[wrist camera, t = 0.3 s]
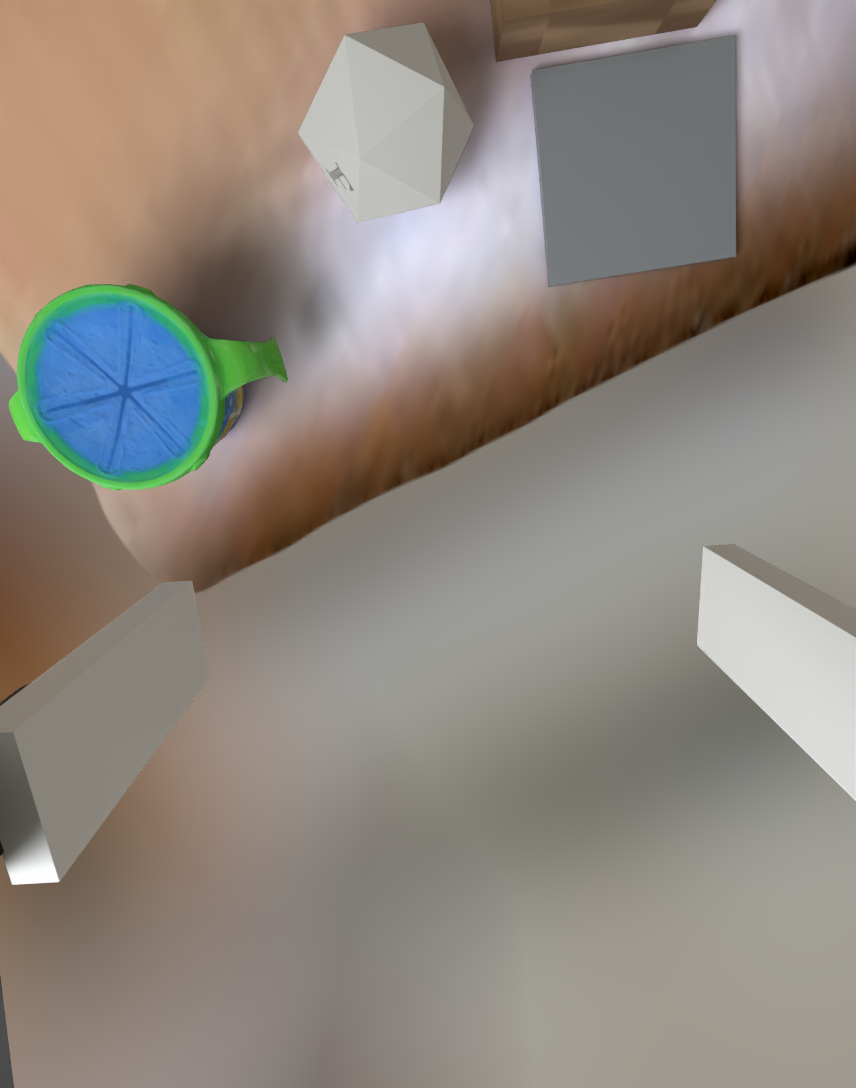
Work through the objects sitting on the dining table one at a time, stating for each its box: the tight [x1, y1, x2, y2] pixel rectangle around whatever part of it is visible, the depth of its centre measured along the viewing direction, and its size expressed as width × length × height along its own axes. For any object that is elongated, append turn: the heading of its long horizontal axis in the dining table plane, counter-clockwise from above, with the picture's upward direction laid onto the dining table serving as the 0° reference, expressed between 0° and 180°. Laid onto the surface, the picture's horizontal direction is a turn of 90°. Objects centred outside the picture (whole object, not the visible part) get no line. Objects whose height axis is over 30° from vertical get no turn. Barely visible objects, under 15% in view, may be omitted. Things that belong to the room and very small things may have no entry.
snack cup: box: [9, 284, 288, 490], centre depth 35 cm, size 16×10×10 cm
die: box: [298, 22, 474, 223], centre depth 32 cm, size 8×9×10 cm
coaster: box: [531, 35, 736, 287], centre depth 36 cm, size 12×12×1 cm
